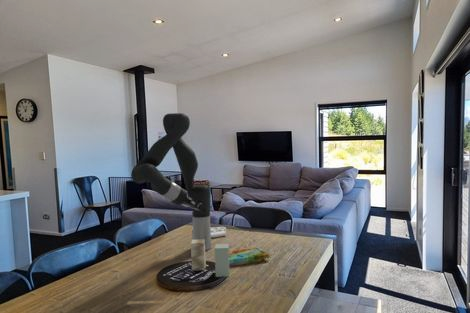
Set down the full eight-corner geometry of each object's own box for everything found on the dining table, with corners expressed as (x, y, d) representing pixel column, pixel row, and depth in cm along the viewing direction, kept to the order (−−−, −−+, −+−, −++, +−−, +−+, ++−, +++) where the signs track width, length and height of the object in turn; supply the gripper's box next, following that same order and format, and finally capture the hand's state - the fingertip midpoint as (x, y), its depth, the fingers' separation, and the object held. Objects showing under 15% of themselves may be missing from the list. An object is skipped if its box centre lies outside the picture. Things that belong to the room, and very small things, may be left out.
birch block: (191, 270, 147) (190, 243, 147) (193, 266, 153) (192, 239, 152) (204, 270, 147) (203, 243, 147) (205, 265, 153) (204, 239, 152)
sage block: (215, 277, 140) (214, 248, 139) (216, 272, 145) (215, 244, 144) (229, 276, 140) (228, 248, 139) (229, 271, 145) (228, 243, 144)
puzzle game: (219, 251, 161) (258, 245, 167) (220, 260, 161) (258, 254, 167) (227, 259, 150) (268, 252, 156) (227, 269, 150) (269, 262, 156)
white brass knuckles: (201, 240, 194) (194, 234, 208) (231, 236, 201) (222, 230, 215) (201, 234, 194) (194, 229, 208) (231, 230, 201) (222, 225, 214)
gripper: (186, 187, 141) (213, 205, 150) (170, 183, 152) (195, 200, 161) (177, 203, 139) (205, 220, 147) (161, 198, 150) (187, 214, 159)
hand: (200, 210), depth 154 cm, fingers open, 8 cm apart
